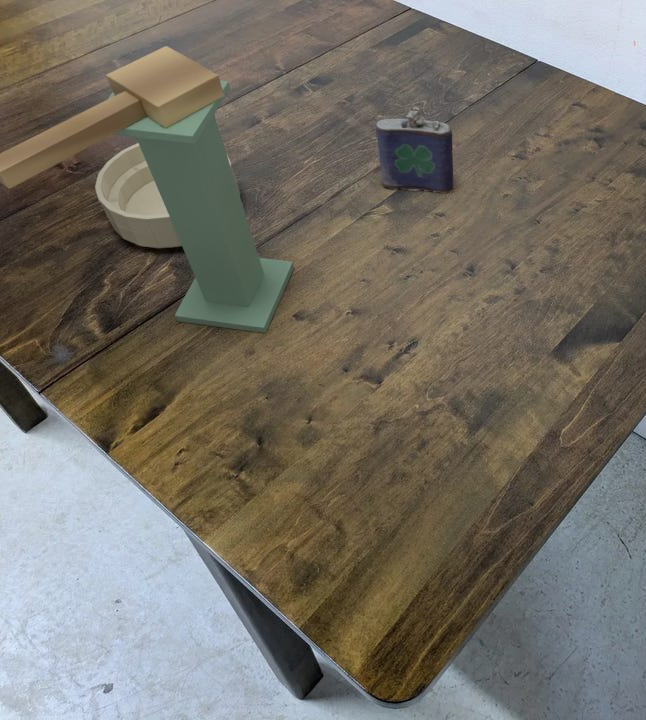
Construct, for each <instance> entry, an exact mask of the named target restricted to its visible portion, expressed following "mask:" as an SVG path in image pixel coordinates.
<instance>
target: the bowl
mask: <svg viewBox="0 0 646 720" xmlns="http://www.w3.org/2000/svg"><path fill="white" fill-rule="evenodd" d="M227 157H228V160H229V163H230V167H231V170H232V173H233V176H234V179H235V183H236V186H237V189H238V192H239V195H240V196H241V190H240V186H239V184H238V181H237V178H236V175H235V172H234V169H233V165H232V162H231V160H230V158H229V155H227ZM94 189H95V192H96V196H97V199H98V201H99V203H100V205H101V208H102V209H103V211H104V213H105V215H106V217H107V219H108V221H109V222H110V225H111V227H112V229H113V230H114V231H115V232H116V233H117V234H118V235H119V236H120V237H121V238H122V239H123V240H126V241H128V242H130V243H132V244H134V245H137V246H139V247H144V248H145V247H146V248H147V247H148V248H154V249H167V248H179V247H182V245H181V242H180V240H179V238H178V235H177V233H176V230H175V228H174V226H173V223H172V221H171V219H170V216H169V214H168V212H167V209H166V207H165V205H164V202H163V200H162V197H161V195H160V193H159V190H158V188H157V186H156V183H155V181H154V179H153V176H152V174H151V171H150V169H149V167H148V164H147V162H146V160H145V157H144V155H143V153H142V150H141V148H140V146H139V143H138V142H136V143H135V144H133V145H131V146H128V147H125V148H124V149H121V151H119V152H118V153H117V154H115V155H114V156H113V157H111V158H110V159H109V160H107V162H106V163H105V164H104V166H103V167H102V168H101V169H100V170H99V172H98V174H97V178H96V181H95V184H94Z"/></svg>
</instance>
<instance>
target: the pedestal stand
mask: <svg viewBox="0 0 646 720" xmlns="http://www.w3.org/2000/svg"><path fill="white" fill-rule="evenodd" d="M220 83H221V86H222V89H223V93H224V97H222V98H220V99H218V100H216V101H214V102H213V103H211V104H209V105H207V106H205V107H204V108H202V109H200V110H198V111H196V112H194V113H193V114H191V115H189V116H187V117H185V118H183V119H182V120H180V121H178V122H176V123H174V124H172V125H171V126H169V127H167V128H165V127H163V126H162V125H160V124H158V123H157V122H155V121H154V120H152V119H150V118H149V117H147V116H146V117H145V118H143V119H141V120H139V121H137V122H135V123H133V124H132V125H130V126H128V127H126V128H124V129H122V130H120V131H118V132H116V133H115V134H113V135H112V136H122V137H129V138H135V139H136V140H137V143H139V146H140V148H141V150H142V153H143V155H144V157H145V160H146V162H147V164H148V167H149V169H150V171H151V174H152V176H153V179H154V181H155V183H156V186H157V188H158V190H159V193H160V195H161V197H162V200H163V202H164V205H165V207H166V209H167V212H168V214H169V216H170V219H171V221H172V223H173V226H174V228H175V230H176V233H177V235H178V238H179V240H180V242H181V245H182V246H181V247H182V250H183V251H184V254H185V257H186V259H187V262H188V263H189V266H190V268H191V271H192V273H193V276H194V278H193V281H192V283H191V285H190V287H189V288H188V290H187V292H186V293H185V296H184V297H183V299H182V301H181V303H180V305H179V306H178V308H177V310H176V312H175V313H174V318H175V320H176V322H180V323H185V324H186V323H188V324H194V325H201V326H202V325H203V326H210V327H215V328H216V327H217V328H224V329H231V330H239V331H246V332H252V333H253V332H254V333H259V334H260V333H261V334H267V332H268V329H269V327H270V324H271V322H272V319H273V317H274V316H275V313H276V311H277V309H278V306H279V305H280V302H281V299H282V297H283V295H284V292H285V290H286V287H287V285H288V284H289V281H290V278H291V276H292V274H293V272H294V269H295V265H294V262H293V261H291V260H289V261H288V260H281V259H272V258H264V257H260V256H259V252H258V250H257V246H256V244H255V243H256V242H255V240H254V237H253V234H252V230H251V227H250V224H249V221H248V217H247V215H246V212H245V208H244V205H243V201H242V198H241V194H240V195H239V192H238V189H237V186H236V183H235V179H234V176H233V173H232V170H231V167H230V163H229V160H230V159H229V160H228V158H229V156H228V153H227V150H226V148H225V145H224V141H223V138H222V135H221V131H220V129H219V125H218V122H217V120H216V116H215V114H216V112H217V111H218V109H219V108H220V106H221V105H222V103H223V102H224V100H225V99H226V96H227V95H228V94H229V93H230V91H231V85H230V83H229V81H228V80H220ZM114 96H115V95H114V93H113V92H112V93H111V94H110V95H109V96H108V97H107V99H106V100H108V99H110V98H112V97H114ZM227 156H228V157H227Z"/></svg>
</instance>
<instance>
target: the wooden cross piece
mask: <svg viewBox="0 0 646 720" xmlns="http://www.w3.org/2000/svg"><path fill="white" fill-rule="evenodd" d="M105 77H106V79H107V81H108V84H109V86H110V88H111V90H112V93H114V95H115V96H114V97H112V98H110V99H108V98H107V99H108V100H107V99H106V100H104V101H102V102H100V103H98V104H96V105H94V106H92V107H90V108H88V109H86V110H83V111H82V112H81V113H78V114H76V115H73V116H72V117H70V118H68V119H66V120H65V121H62V122H60V123H58V124H56V125H54V126H52V127H50V128H49V129H46V130H45V131H42V132H41V133H39V134H37V135H34V136H32V137H30V138H29V139H27V140H25V141H22V142H20V143H18V144H17V145H14V146H13V147H10V148H8V149H6V150H5V151H2V152H1V153H0V183H1V184H3V185H4V186H5V187H6V188H7V189H10V190H11V189H13V188H15V187H16V186H18V185H20V184H22V183H25V182H26V181H28V180H29V179H31V178H34V177H35V176H37V175H39V174H42V173H43V172H45V171H46V170H47V171H48V170H49V169H50V168H52V167H54V166H56V165H58V164H59V163H62V162H64V161H65V160H67V159H70V158H72V157H73V156H75V155H77V154H79V153H80V152H82V151H84V150H86V149H88V148H90V147H92V146H93V145H96V144H97V143H99V142H101V141H103V140H105V139H107V138H109V137H111V136H114V135H113V134H115V133H116V132H118V131H120V130H122V129H124V128H126V127H128V126H130V125H132V124H133V123H135V122H137V121H139V120H141V119H143V118H145V117H146V116H147V117H149V118H150V119H152V120H154V121H155V122H157V123H158V124H160V125H162V126H163V127H165V128H167V127H169V126H171V125H172V124H174V123H176V122H178V121H180V120H182V119H183V118H185V117H187V116H189V115H191V114H193V113H194V112H196V111H198V110H200V109H202V108H204V107H205V106H207V105H209V104H211V103H213V102H214V101H216V100H218V99H220V98H222V97H224V93H223V89H222V86H221V83H220V81H221V79H220V76H219V74H218V73H216V72H214V71H213V70H210V69H208V68H207V67H205V66H203V65H202V64H200V63H198V62H196V61H194V60H193V59H191V58H189V57H187V56H185V55H184V54H182V53H180V52H179V51H176V50H175V49H173V48H171V47H170V46H169V45H168V46H167V45H165V46H163V47H161V48H159V49H156V50H155V51H153V52H151V53H148V54H146V55H145V56H141V57H140V58H138V59H136V60H134V61H132V62H130V63H128V64H126V65H124V66H121V67H119V68H117V69H115V70H113V71H111V72H109V73H107V74H106V76H105Z"/></svg>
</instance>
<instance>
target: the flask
mask: <svg viewBox="0 0 646 720" xmlns="http://www.w3.org/2000/svg"><path fill="white" fill-rule="evenodd" d="M408 110H409V111H408V113H407V114H406V115H405V118H383V119H380V120H378V122H376V124H375V135H376V137H377V139H376V140H377V148H378V157H379V158H378V160H379V165H380V176H381V177H380V178H381V183H382V186H383V188H387V189H390V190H393V191H394V190H395V191H397V190H405V191H411V192H417V191H424V192H433V193H440V194H446V193H449V192H453V188H454V187H453V186H454V158H453V157H454V156H453V131H452V128H451V126H450V124H447V123H445V122H440V121H437V120H427V119H426V118H425V117H424V116H422V115H418V113H419V111H420V108H419V107H417V106H414V107H409V108H408Z"/></svg>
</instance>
